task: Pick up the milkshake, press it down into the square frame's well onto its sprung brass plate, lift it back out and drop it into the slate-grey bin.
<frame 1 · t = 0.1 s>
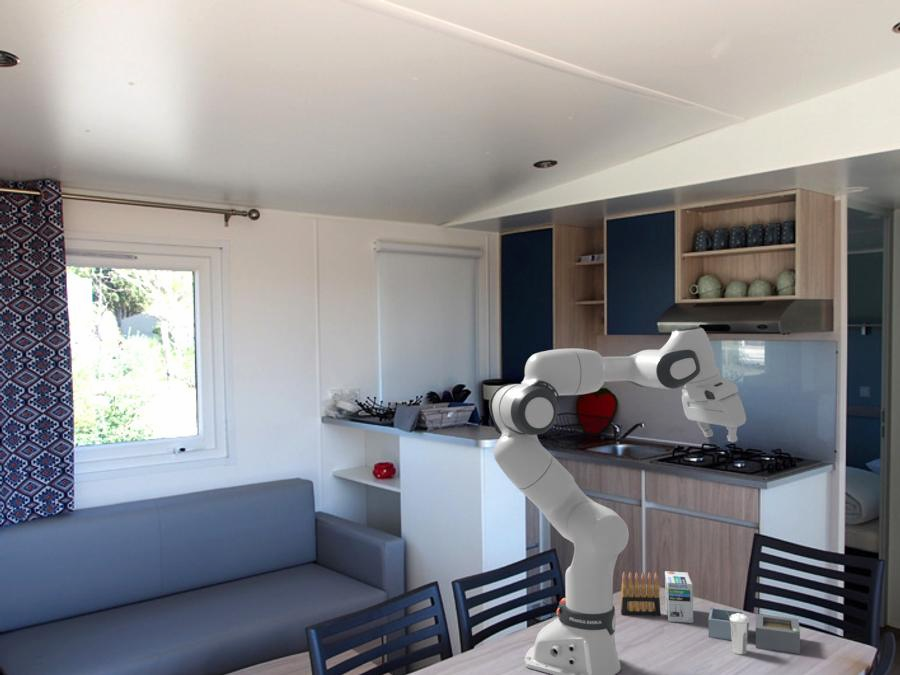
hand: (720, 438, 185), 52 cm above the table, tool tilted 20°, fingers open, 8 cm apart
milkshake: (737, 652, 180), on the table
square frame: (777, 643, 185), on the table
ammunition clip: (640, 615, 205), on the table
bin: (727, 633, 192), on the table
checker plate: (777, 629, 185), point 3 cm above the table, slide at 0.0 cm
light bulb box: (678, 616, 204), on the table
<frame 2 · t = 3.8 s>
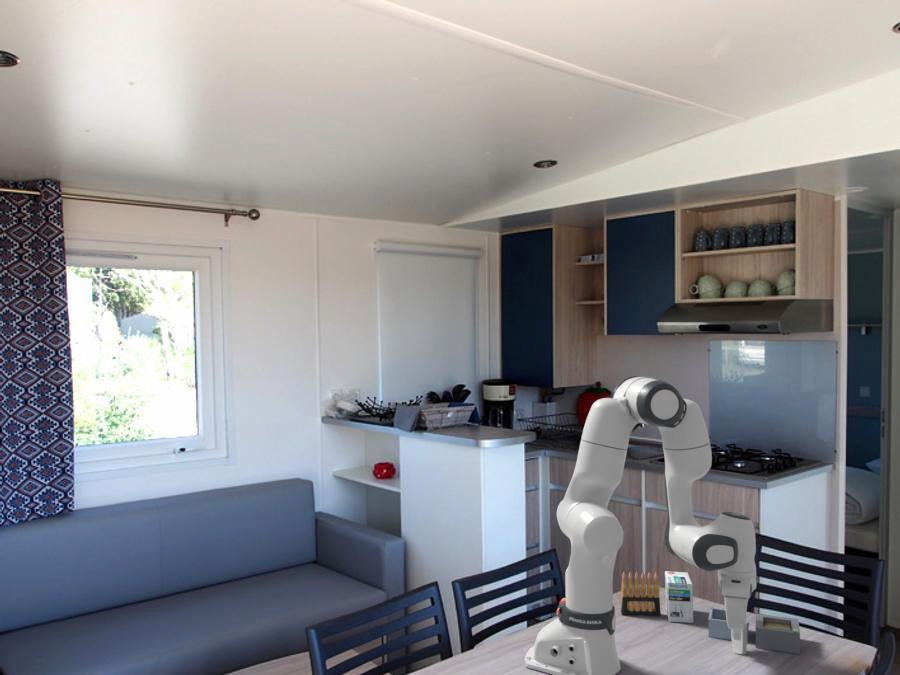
hand: (737, 634, 180), 4 cm above the table, tool pointing down, fingers closed on milkshake, 4 cm apart
milkshake: (737, 652, 180), on the table, touching gripper
everything else where it was.
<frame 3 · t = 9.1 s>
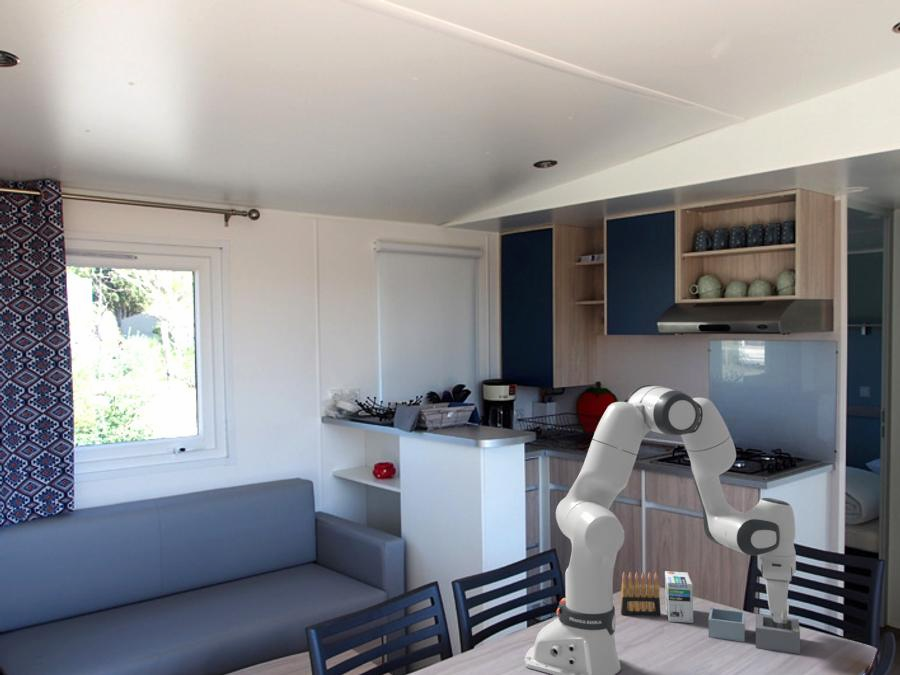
hand: (777, 617, 185), 6 cm above the table, tool pointing down, fingers closed on milkshake, 4 cm apart
milkshake: (778, 636, 185), point 2 cm above the table, touching checker plate, gripper
checker plate: (777, 636, 185), point 2 cm above the table, slide at -1.9 cm, touching milkshake
everything else where it was.
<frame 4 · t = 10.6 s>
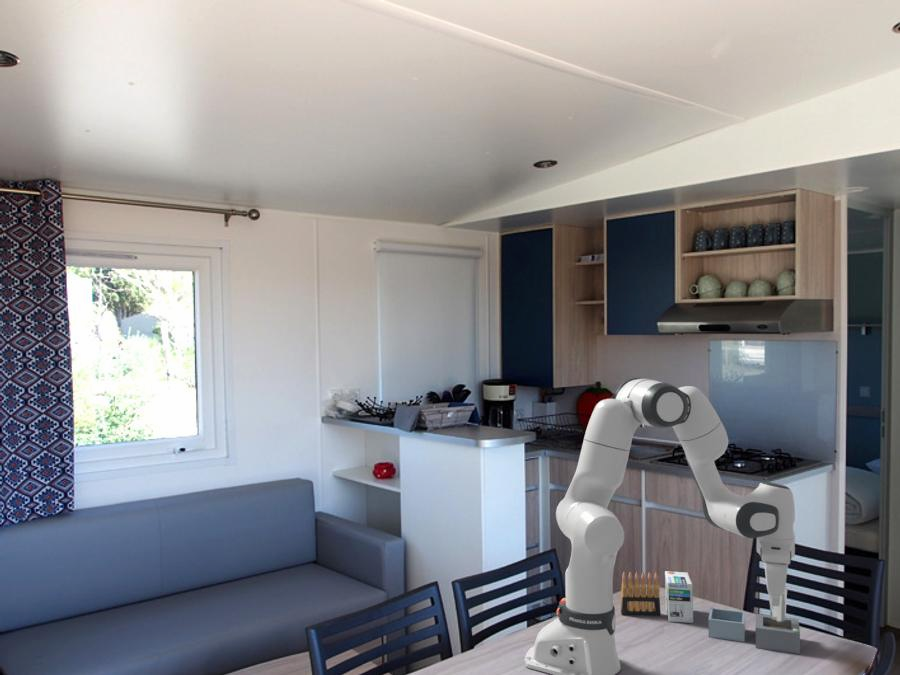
hand: (775, 601, 185), 10 cm above the table, tool pointing down, fingers closed on milkshake, 4 cm apart
milkshake: (776, 620, 185), point 6 cm above the table, touching gripper
checker plate: (777, 632, 185), point 3 cm above the table, slide at -0.6 cm
everything else where it was.
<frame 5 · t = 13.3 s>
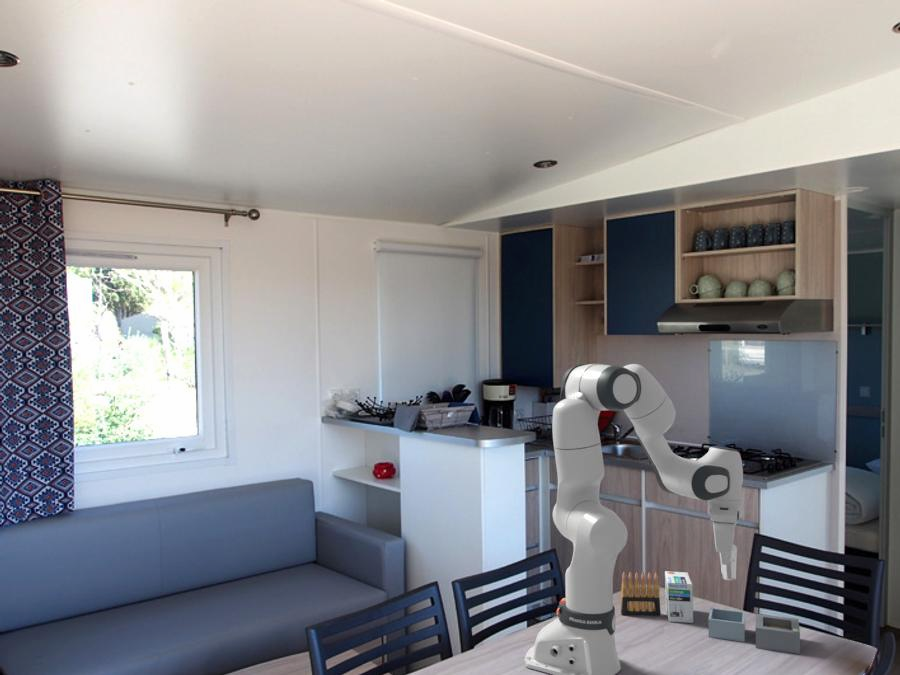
hand: (726, 561, 192), 19 cm above the table, tool pointing down, fingers closed on milkshake, 4 cm apart
milkshake: (727, 579, 191), point 14 cm above the table, touching gripper
everything else where it was.
when the fingers open (6 cm above the table, at t = 15.7 s): milkshake drops 1 cm, resting on bin.
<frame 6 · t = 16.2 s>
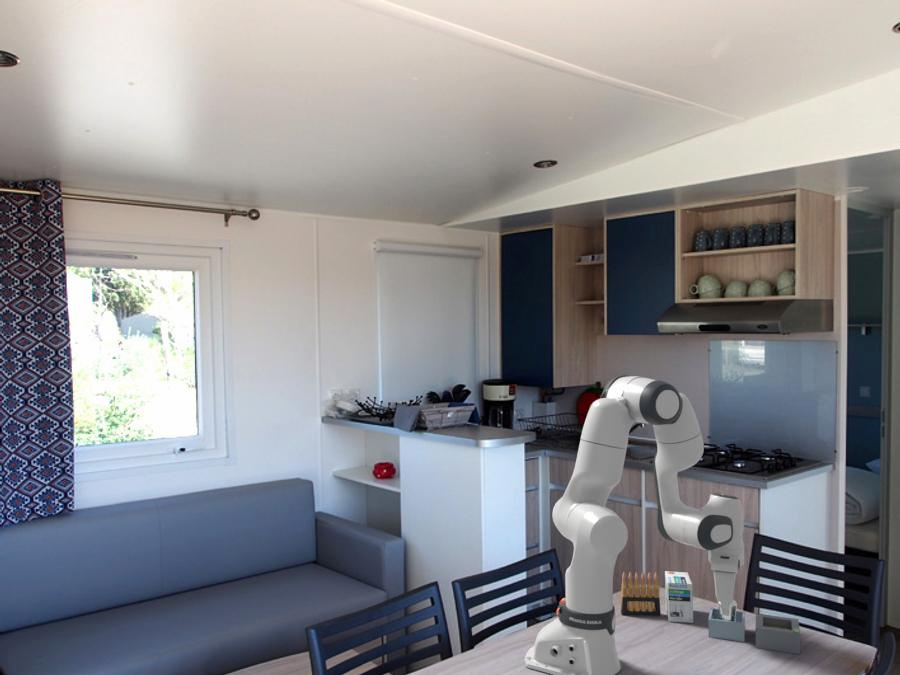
hand: (726, 608, 192), 6 cm above the table, tool pointing down, fingers open, 8 cm apart
milkshake: (726, 634, 190), resting on bin, touching gripper
everything else where it was.
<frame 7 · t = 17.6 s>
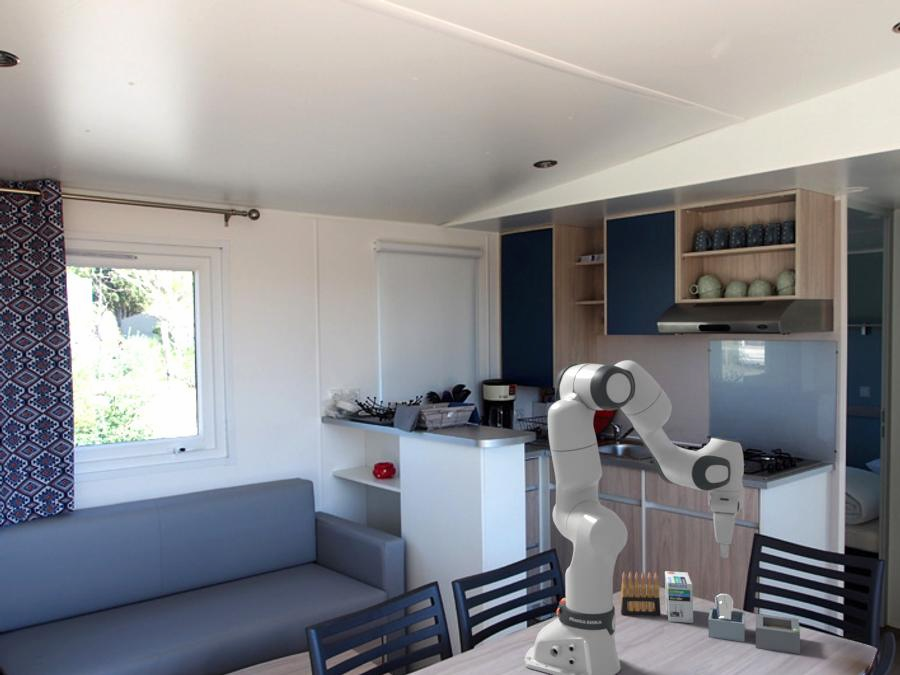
hand: (725, 552, 192), 21 cm above the table, tool pointing down, fingers open, 8 cm apart
milkshake: (723, 621, 189), point 4 cm above the table, touching bin
everything else where it was.
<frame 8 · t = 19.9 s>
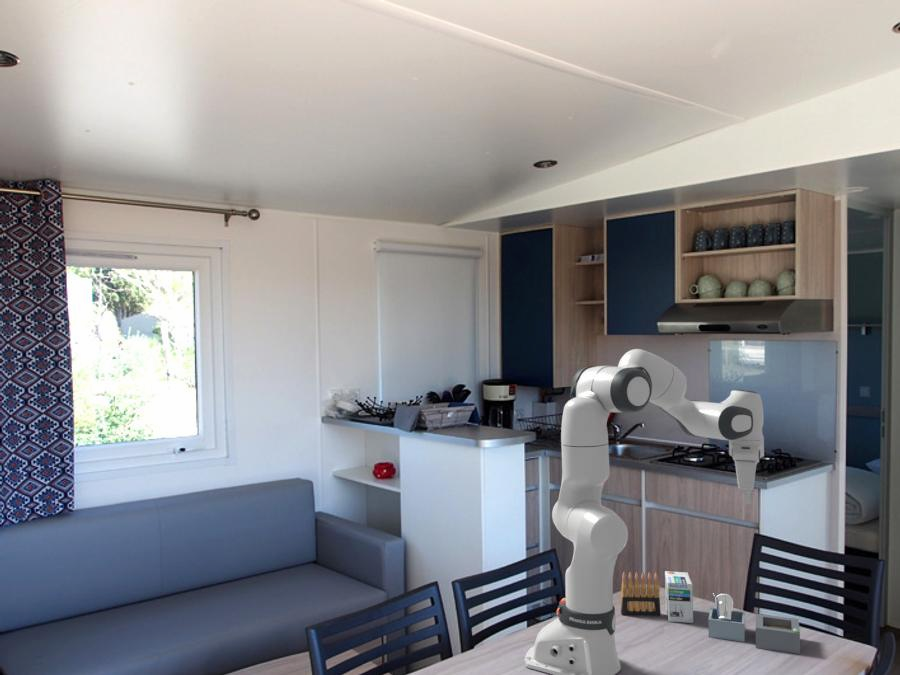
hand: (747, 500, 199), 33 cm above the table, tool pointing down, fingers open, 8 cm apart
nothing on the table moved.
at the end: milkshake inside the target area on the bin (3.8 cm from its centre), point 4.1 cm above the bin's base; the gripper is holding nothing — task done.
